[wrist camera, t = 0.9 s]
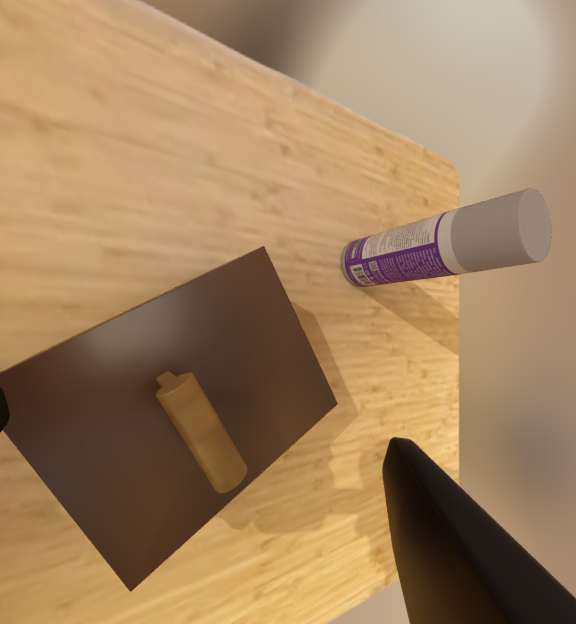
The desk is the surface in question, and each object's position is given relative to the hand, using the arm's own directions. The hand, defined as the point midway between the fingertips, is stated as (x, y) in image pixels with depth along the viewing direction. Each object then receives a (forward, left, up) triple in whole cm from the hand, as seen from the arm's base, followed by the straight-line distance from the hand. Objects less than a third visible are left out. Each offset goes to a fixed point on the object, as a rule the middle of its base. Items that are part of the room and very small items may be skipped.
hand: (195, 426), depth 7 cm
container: (+20, -8, -16) cm, 27 cm away
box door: (+1, -3, -10) cm, 11 cm away
